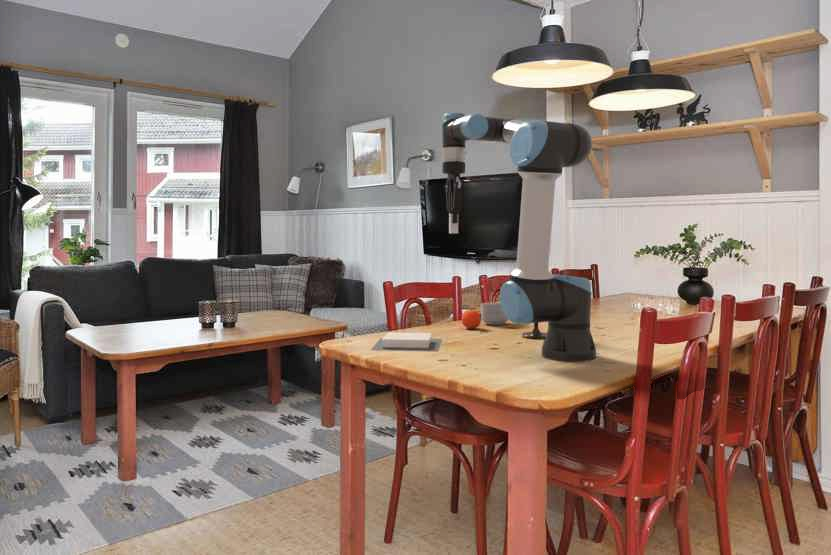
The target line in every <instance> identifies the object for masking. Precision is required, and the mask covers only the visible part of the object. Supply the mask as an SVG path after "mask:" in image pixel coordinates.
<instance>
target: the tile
mask: <svg viewBox="0 0 831 555" xmlns="http://www.w3.org/2000/svg"><path fill="white" fill-rule="evenodd" d="M432 335H433V334H432V332H389V331H388V332H386V334H384V335H383V337H382V338H383V339H382V347H383V348H405V349H428V348H429V346H430V344H431V341H432V339H433V338H432V337H433V336H432Z"/></svg>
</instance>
